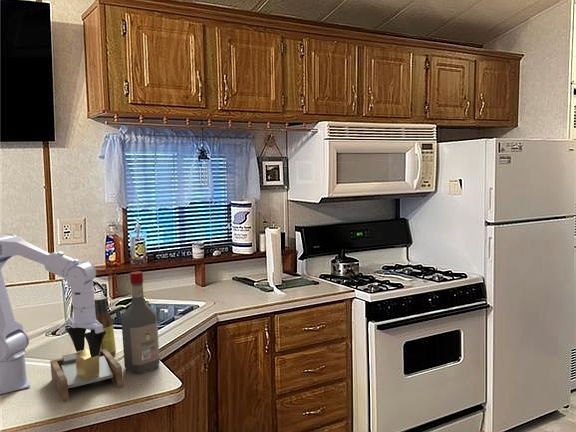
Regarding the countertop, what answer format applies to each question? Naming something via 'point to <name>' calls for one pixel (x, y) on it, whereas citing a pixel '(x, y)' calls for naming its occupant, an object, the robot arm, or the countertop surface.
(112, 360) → the frame
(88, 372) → the yellow wooden block
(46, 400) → the countertop surface
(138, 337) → the liquor
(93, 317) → the robot arm
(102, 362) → the trapdoor
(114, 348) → the sauce bottle
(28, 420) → the countertop surface
